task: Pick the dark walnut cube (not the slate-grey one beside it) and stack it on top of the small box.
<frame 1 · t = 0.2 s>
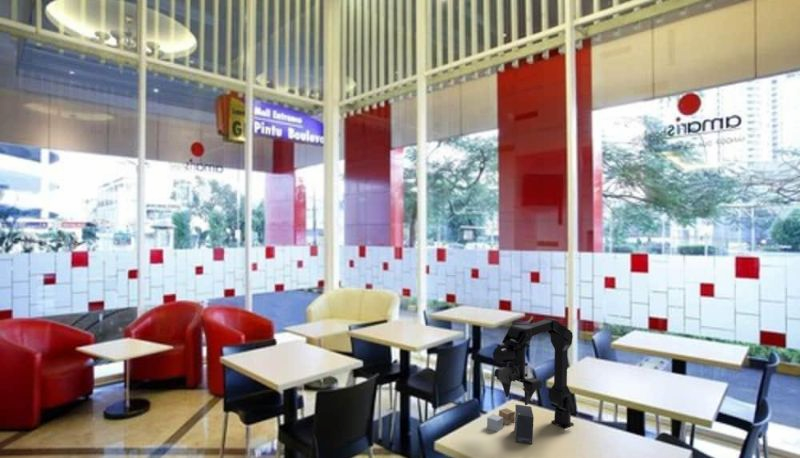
hand: (516, 400, 168), 14 cm above the table, fingers open, 9 cm apart
walnut cube: (506, 421, 183), on the table
slate block: (494, 428, 176), on the table
small box: (523, 437, 170), on the table
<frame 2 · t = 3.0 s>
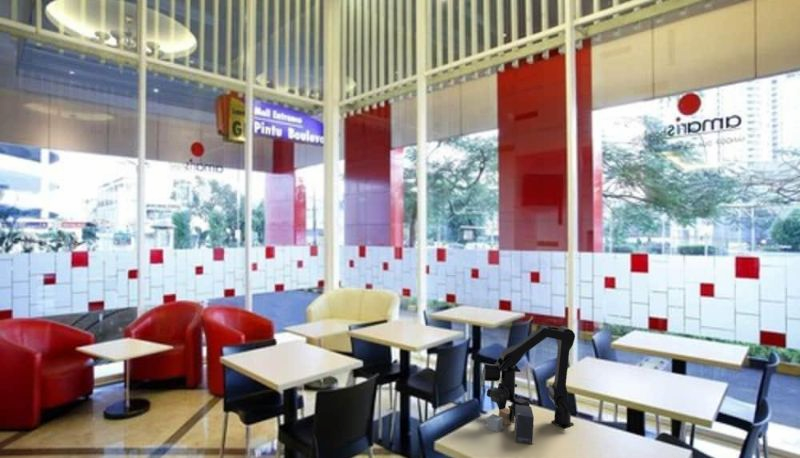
hand: (506, 419, 183), 1 cm above the table, fingers closed on walnut cube, 4 cm apart
walnut cube: (506, 421, 183), on the table, touching gripper
everything else where it was.
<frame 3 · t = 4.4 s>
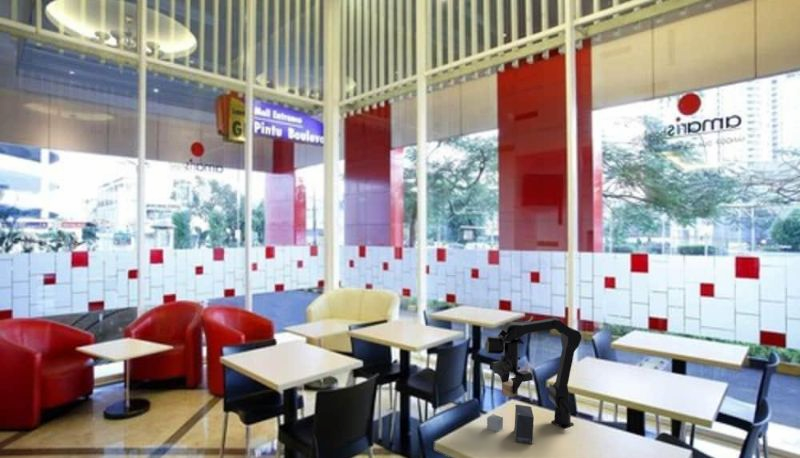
hand: (509, 391, 181), 13 cm above the table, fingers closed on walnut cube, 4 cm apart
walnut cube: (509, 394, 181), point 12 cm above the table, touching gripper
everything else where it was.
when the fingers open (12 cm above the table, at t = 5.7 s): walnut cube stays where it is, resting on small box.
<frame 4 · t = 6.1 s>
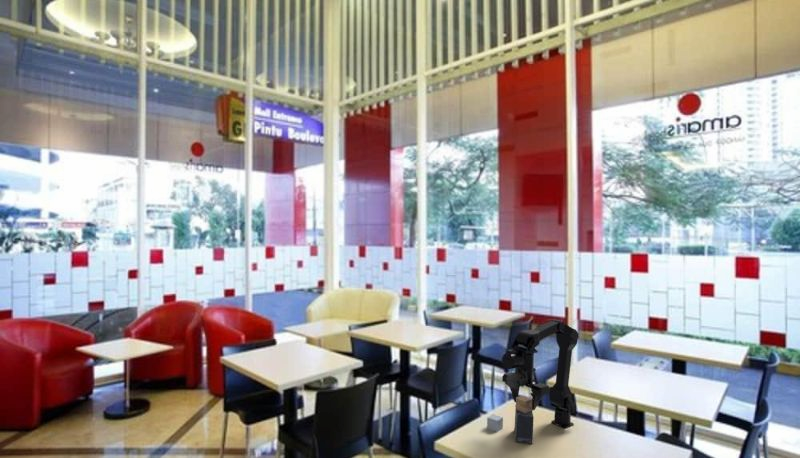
hand: (524, 405, 170), 12 cm above the table, fingers open, 8 cm apart
walnut cube: (524, 410, 170), point 10 cm above the table, touching small box
small box: (523, 438, 170), on the table, touching walnut cube
everything else where it was.
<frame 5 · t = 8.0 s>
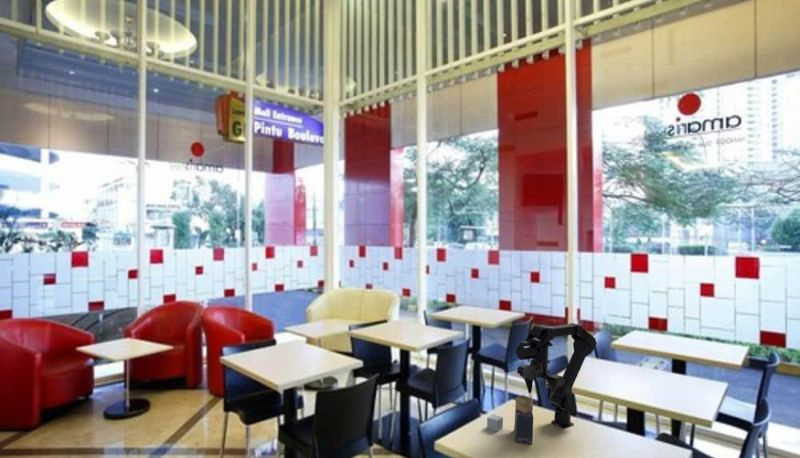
hand: (539, 396, 177), 13 cm above the table, fingers open, 9 cm apart
nothing on the table moved.
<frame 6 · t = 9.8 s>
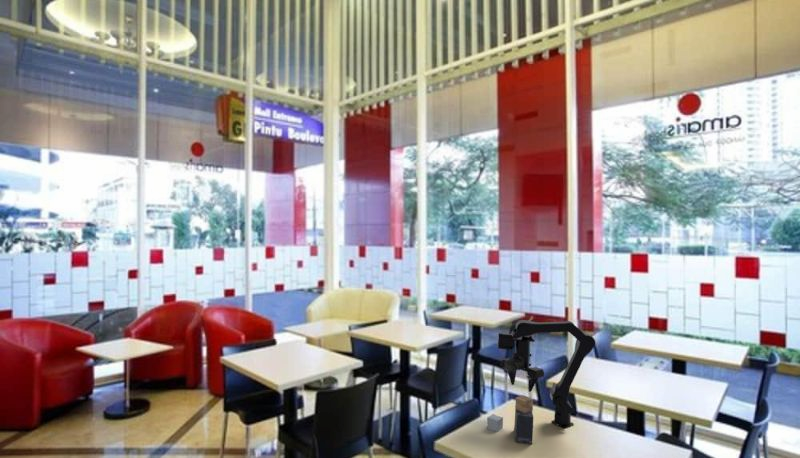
hand: (521, 388, 186), 13 cm above the table, fingers open, 9 cm apart
nothing on the table moved.
at the end: walnut cube inside the target area on the small box (0.1 cm from its centre), point 10.7 cm above the small box's base; walnut cube tilted 0°; small box moved 0.3 cm from its start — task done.
